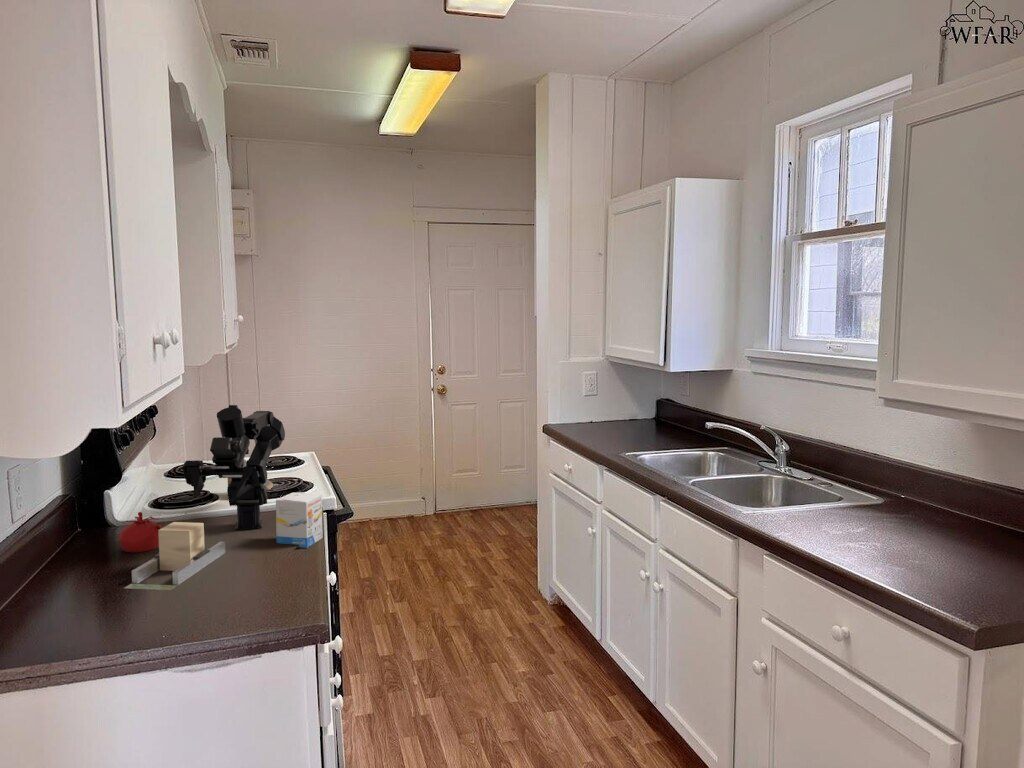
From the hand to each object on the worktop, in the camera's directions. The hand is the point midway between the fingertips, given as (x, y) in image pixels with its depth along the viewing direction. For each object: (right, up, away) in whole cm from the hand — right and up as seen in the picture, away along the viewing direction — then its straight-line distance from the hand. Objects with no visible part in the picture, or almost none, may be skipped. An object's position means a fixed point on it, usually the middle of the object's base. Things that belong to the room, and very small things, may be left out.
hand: (215, 496), depth 162 cm
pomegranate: (-20, -14, +6) cm, 25 cm away
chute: (-4, -15, -7) cm, 17 cm away
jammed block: (-4, -14, -7) cm, 16 cm away
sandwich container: (-12, -9, +58) cm, 60 cm away
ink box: (+16, -14, +13) cm, 25 cm away
